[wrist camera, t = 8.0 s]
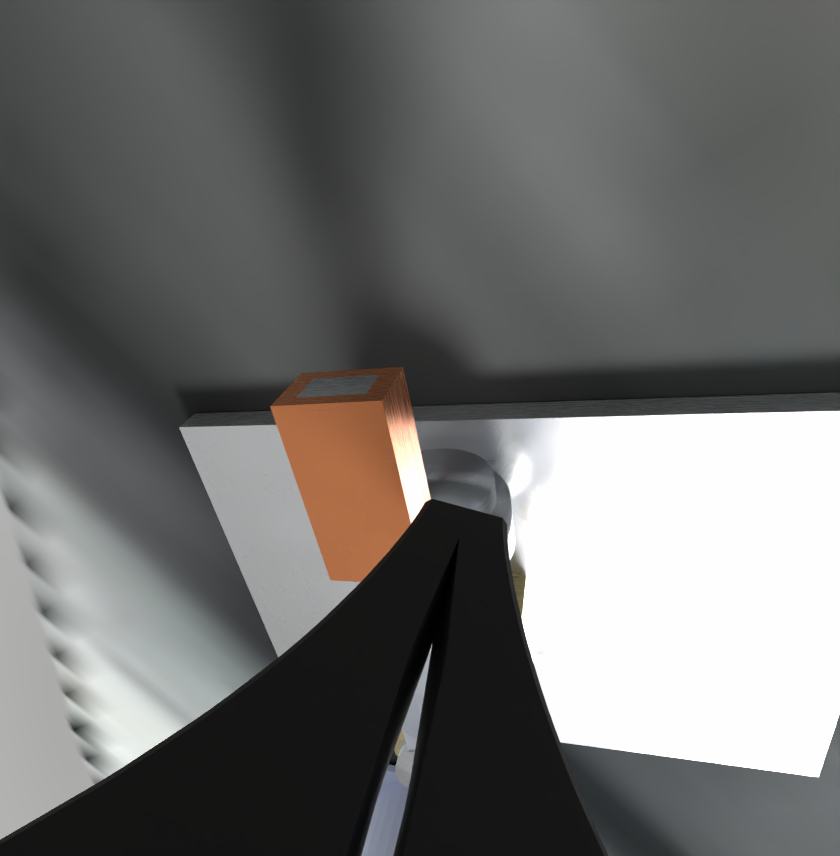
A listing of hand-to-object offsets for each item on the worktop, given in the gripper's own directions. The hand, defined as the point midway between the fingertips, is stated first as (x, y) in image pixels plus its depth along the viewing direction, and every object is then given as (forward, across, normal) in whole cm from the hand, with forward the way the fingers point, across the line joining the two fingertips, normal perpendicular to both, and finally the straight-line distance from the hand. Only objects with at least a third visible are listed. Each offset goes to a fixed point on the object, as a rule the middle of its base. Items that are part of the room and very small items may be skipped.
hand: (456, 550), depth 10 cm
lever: (+2, +1, +5) cm, 6 cm away
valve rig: (+8, -2, +9) cm, 13 cm away
